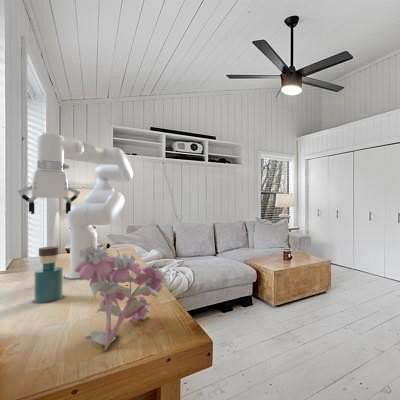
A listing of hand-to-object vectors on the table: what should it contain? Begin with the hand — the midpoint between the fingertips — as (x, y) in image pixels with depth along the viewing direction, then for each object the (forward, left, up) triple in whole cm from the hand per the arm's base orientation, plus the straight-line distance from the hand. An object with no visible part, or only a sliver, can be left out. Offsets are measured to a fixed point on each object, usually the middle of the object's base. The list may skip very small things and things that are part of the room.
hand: (50, 213), depth 108 cm
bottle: (+8, +9, -28) cm, 31 cm away
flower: (+23, +50, -28) cm, 62 cm away
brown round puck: (+8, +9, -13) cm, 18 cm away
